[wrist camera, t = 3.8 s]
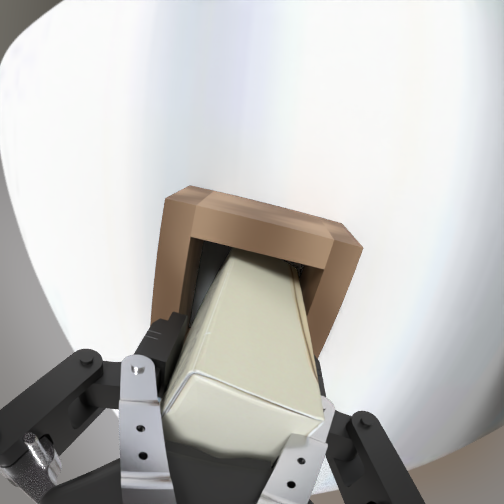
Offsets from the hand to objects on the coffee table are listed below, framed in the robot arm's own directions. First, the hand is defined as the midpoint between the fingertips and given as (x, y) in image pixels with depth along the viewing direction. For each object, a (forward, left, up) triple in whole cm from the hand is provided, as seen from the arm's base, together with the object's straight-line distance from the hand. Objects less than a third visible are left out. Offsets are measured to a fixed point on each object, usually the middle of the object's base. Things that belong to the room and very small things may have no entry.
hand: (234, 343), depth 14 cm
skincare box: (0, 0, -6) cm, 6 cm away
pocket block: (0, 0, -6) cm, 6 cm away
